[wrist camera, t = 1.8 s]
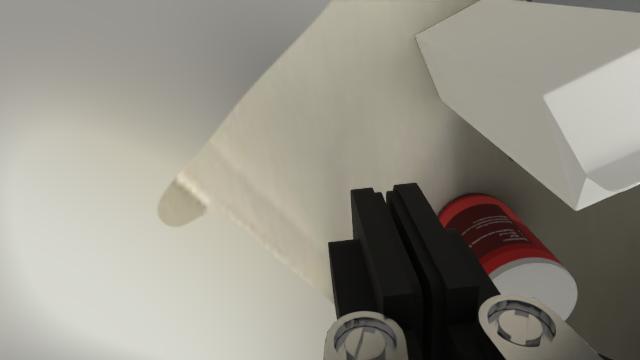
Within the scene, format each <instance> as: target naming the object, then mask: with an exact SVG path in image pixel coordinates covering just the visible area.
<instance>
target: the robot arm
mask: <svg viewBox="0 0 640 360" xmlns="http://www.w3.org/2000/svg"><path fill="white" fill-rule="evenodd" d="M351 208H352V224H353V240H345V241H336V242H328V247H329V258H330V268H331V278H332V286H333V294H334V302H335V308H336V316H337V321H336V322H334V323H333V324H332V326H331V327H330V329H329V330H328V332H327V336H326V339H325V347H324V358H323V360H612V359H610V358H607V357H605V356H603V355H600V354H598V353H596V352H595V351H594V350H593V349H592V348H591V347H590V346H589V345H588V344H587V343H586V342H585V341H584V340H583V339H582V338H581V337H580V336H579V335H578V334H577V333H576V332H575V331H574V330H573V329H572V328H571V327H570V326H569V325H568V324H567V323H566V322H565V321H564V320H563V319H562V318H561V317H560V316H559V315H558V314H557V313H555V312H554V311H553V310H552V309H550V308H549V307H548V306H546V305H545V304H543V303H541V302H539V301H537V300H535V299H532V298H528V297H525V296H521V295H512V294H506V295H501V294H500V292H499V291H498V289H497V288H496V286H495V285H494V283H493V282H492V280H491V279H490V277H489V276H488V274H487V273H486V271H485V270H484V268H483V267H482V265H481V264H480V262H479V261H478V259H477V258H476V256H475V255H474V253H473V252H472V250H471V248H470V247H469V245H468V244H467V242H466V241H465V239H464V238H463V236H462V235H461V233H460V232H459V231H458V230H457V229H455V228H451V229H445V228H444V227H443V225H442V224H441V222H440V220H439V219H438V217H437V215H436V214H435V212H434V211H433V209H432V207H431V206H430V204H429V202H428V201H427V199H426V198H425V196H424V194H423V193H422V191H421V189H420V188H419V186H418V185H417V183H408V184H399V185H394V187H393V191H387V192H386V202H385V200H384V198H383V195H382V193H381V192H377V193H374V190H373V188H363V189H354V190H351Z"/></svg>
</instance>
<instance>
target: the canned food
mask: <svg viewBox="0 0 640 360" xmlns="http://www.w3.org/2000/svg"><path fill="white" fill-rule="evenodd" d="M438 219H439V220H440V222H441V224H442V225H443V227H444V228H445V229H451V228H455V229H457V230H458V231H459V232H460V233H461V235H462V236H463V238H464V239H465V241H466V242H467V244H468V245H469V247H470V248H471V250H472V252H473V253H474V255H475V256H476V258H477V259H478V261H479V262H480V264H481V265H482V267H483V268H484V270H485V271H486V273H487V274H488V276H489V277H490V279H491V280H492V282H493V283H494V285H495V286H496V288H497V289H498V291H499V292H500V294H501V295H506V294H512V295H521V296H525V297H528V298H532V299H535V300H537V301H539V302H541V303H543V304H545V305H546V306H548V307H549V308H550V309H552V310H553V311H554V312H555V313H557V314H558V315H559V316H560V317H561V318H562V319H563V320H564V321H565V320H566V319H567V318H568V316H569V315H570V314H571V312H572V310H573V309H574V307H575V304H576V301H577V294H578V292H577V285H576V283H575V281H574V279H573V278H572V276H571V275H570V273H569V272H568V271H567V270H566V268H565V267H564V266H563V265H562V264H561V263H560V262H559V261H558V259H557V258H556V257H555V256H554V255H553V254H552V253H551V252H550V251H549V250H548V249H547V248H546V247H545V246H544V245H543V244H542V242H541V241H540V240H539V239H538V238H537V237H536V236H535V235H534V234H533V233H532V232H531V231H530V230H529V229H528V228H527V227H526V226H525V225H524V224H523V222H522V221H521V220H520V219H519V218H518V217H517V216H516V215H515V214H514V213H513V212H512V211H511V210H510V209H509V208H508V207H507V206H506V205H505V204H504V203H502V202H501V201H499V200H497V199H495V198H492V197H490V196H486V195H480V194H474V195H467V196H464V197H461V198H459V199H457V200H455V201H453V202H452V203H450V204H449V205H448V206H446V208H445V209H444V210H443V211H442V212H441V214H440V215H439V217H438Z"/></svg>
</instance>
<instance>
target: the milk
mask: <svg viewBox="0 0 640 360" xmlns="http://www.w3.org/2000/svg"><path fill="white" fill-rule="evenodd" d="M415 38H416V40H417V43H418V45H419V48H420V50H421V53H422V55H423V58H424V60H425V63H426V65H427V67H428V70H429V72H430V75H431V77H432V80H433V82H434V85H435V87H436V90H437V92H438V95H439V97H440V99H441V101H443V102H444V103H445V104H446V105H447V106H449V107H450V108H451V109H452V110H454V111H455V112H456V113H457V114H458V115H460V116H461V117H462V118H463V119H464V120H466V121H467V122H468V123H469V124H471V125H472V126H473V127H474V128H475V129H477V130H478V131H479V132H480V133H481V134H483V135H484V136H485V137H486V138H487V139H489V140H490V141H491V142H492V143H494V144H495V145H496V146H497V147H498V148H500V149H501V150H502V151H503V152H504V153H506V154H507V155H508V156H509V157H511V158H512V159H513V160H514V161H515V162H517V163H518V164H519V165H520V166H521V167H523V168H524V169H525V170H526V171H528V172H529V173H530V174H531V175H532V176H534V177H535V178H536V179H537V180H538V181H540V182H541V183H542V184H543V185H545V186H546V187H547V188H548V189H549V190H551V191H552V192H553V193H554V194H555V195H557V196H558V197H559V198H560V199H562V200H563V201H564V202H565V203H566V204H568V205H569V206H570V207H571V208H573V209H574V210H575V211H578V210H580V209H583V208H585V207H587V206H589V205H592V204H594V203H596V202H599V201H601V200H603V199H605V198H608V197H610V196H612V195H614V194H617V193H619V192H623V191H625V190H628V189H630V188H632V187H635V186H637V185H639V184H640V13H637V12H627V11H617V10H606V9H596V8H586V7H576V6H566V5H556V4H546V3H535V2H525V1H515V0H480V1H478V2H476V3H474V4H472V5H470V6H469V7H467V8H465V9H463V10H461V11H459V12H458V13H456V14H454V15H452V16H450V17H448V18H446V19H445V20H443V21H441V22H439V23H437V24H435V25H434V26H432V27H430V28H428V29H426V30H424V31H423V32H421V33H419V34H417V35H416V36H415Z"/></svg>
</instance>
